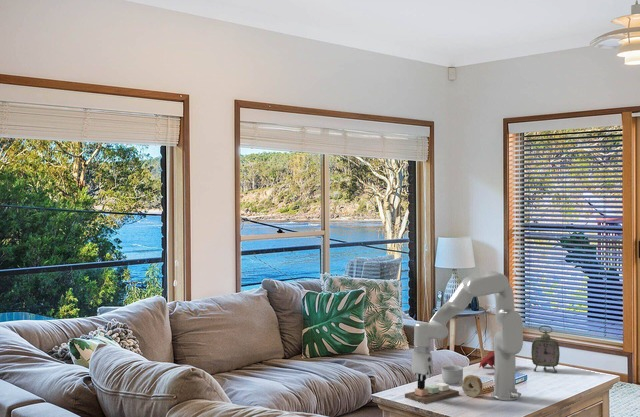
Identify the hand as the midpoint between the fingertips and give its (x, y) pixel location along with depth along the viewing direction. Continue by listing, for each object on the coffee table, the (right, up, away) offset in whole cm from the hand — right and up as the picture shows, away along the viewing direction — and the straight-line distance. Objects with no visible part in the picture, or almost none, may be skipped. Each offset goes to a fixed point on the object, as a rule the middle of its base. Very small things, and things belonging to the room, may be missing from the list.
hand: (421, 388), depth 327 cm
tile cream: (+11, -3, +9) cm, 15 cm away
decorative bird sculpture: (+47, -5, +57) cm, 75 cm away
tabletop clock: (+75, -5, +55) cm, 93 cm away
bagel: (+25, -5, +5) cm, 26 cm away
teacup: (+21, -5, +29) cm, 36 cm away
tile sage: (+6, -3, +4) cm, 8 cm away
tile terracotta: (0, -3, 0) cm, 3 cm away
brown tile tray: (+6, -5, +4) cm, 9 cm away
